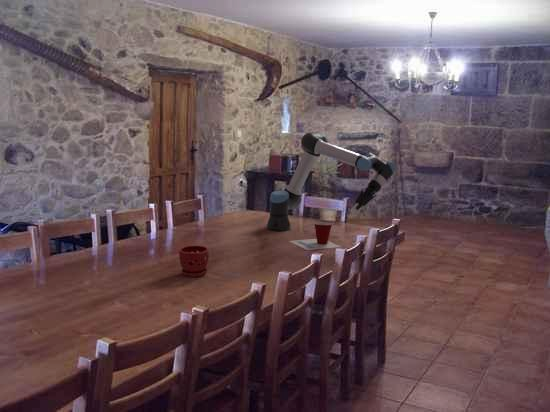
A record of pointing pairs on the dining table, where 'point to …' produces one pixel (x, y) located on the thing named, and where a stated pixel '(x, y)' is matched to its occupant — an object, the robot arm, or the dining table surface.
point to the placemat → (313, 244)
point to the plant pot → (194, 260)
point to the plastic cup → (322, 231)
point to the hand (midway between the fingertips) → (351, 213)
